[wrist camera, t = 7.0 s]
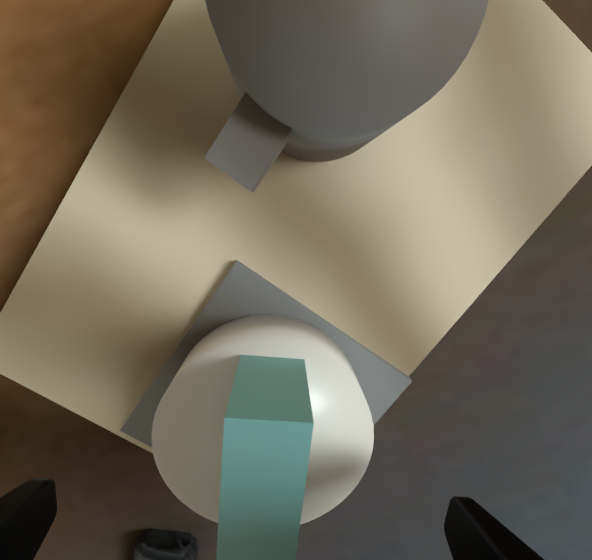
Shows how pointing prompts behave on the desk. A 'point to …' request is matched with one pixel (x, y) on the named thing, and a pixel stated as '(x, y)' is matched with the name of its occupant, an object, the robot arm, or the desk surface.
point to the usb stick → (165, 546)
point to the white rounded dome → (263, 433)
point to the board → (300, 190)
